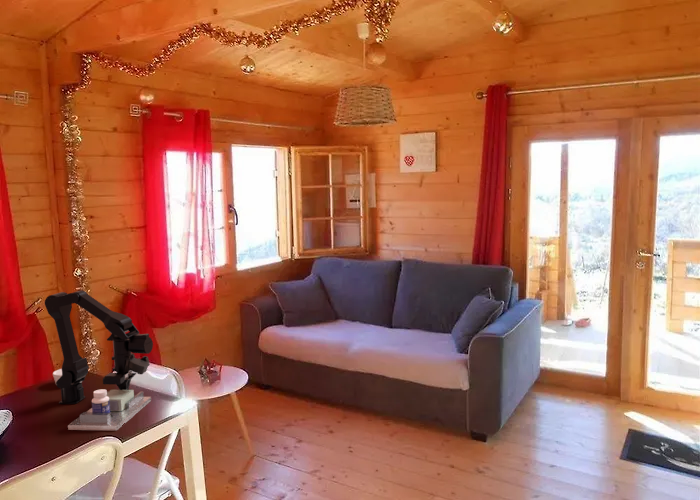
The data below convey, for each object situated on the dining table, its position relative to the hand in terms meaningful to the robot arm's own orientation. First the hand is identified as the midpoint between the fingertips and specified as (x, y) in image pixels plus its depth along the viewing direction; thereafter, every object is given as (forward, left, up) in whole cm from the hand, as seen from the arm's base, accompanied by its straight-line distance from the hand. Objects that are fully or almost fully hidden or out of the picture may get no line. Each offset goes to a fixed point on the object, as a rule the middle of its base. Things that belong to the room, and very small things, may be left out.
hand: (125, 395), depth 200 cm
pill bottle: (0, -16, -2) cm, 16 cm away
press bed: (0, -10, -3) cm, 10 cm away
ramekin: (-33, +20, -3) cm, 39 cm away
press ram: (0, -7, -1) cm, 7 cm away
